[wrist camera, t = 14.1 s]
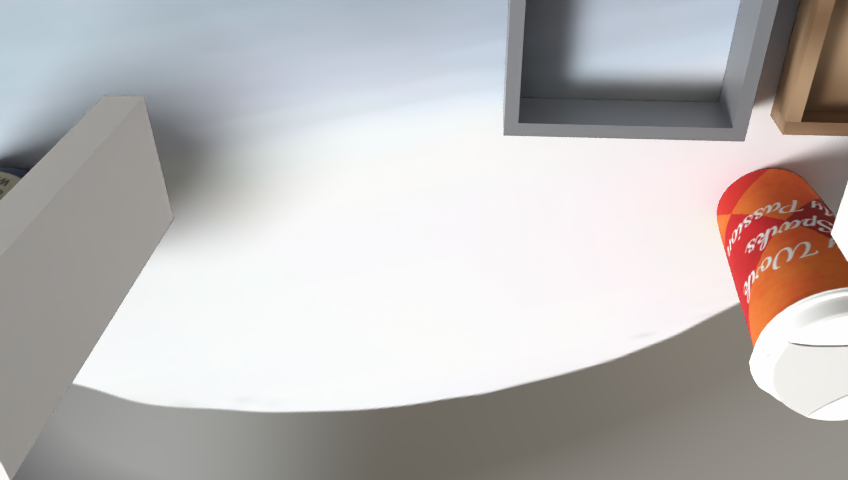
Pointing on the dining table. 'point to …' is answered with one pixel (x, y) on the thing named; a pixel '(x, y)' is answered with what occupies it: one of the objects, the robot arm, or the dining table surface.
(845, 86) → the tray
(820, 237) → the coffee cup
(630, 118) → the holder box
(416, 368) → the dining table surface
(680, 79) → the dining table surface
